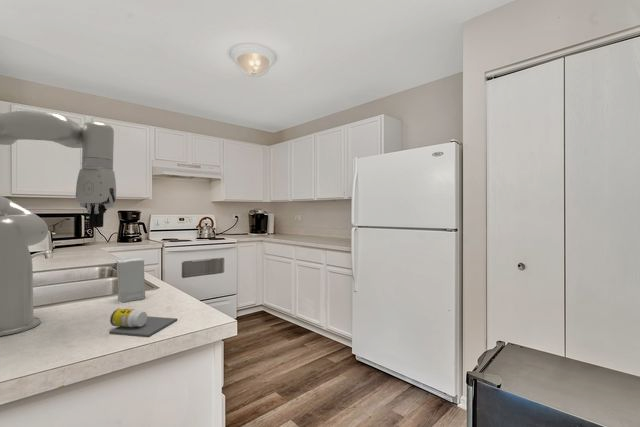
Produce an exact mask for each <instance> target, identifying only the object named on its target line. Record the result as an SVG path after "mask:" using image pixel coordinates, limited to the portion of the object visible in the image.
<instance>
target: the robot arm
mask: <svg viewBox="0 0 640 427" xmlns="http://www.w3.org/2000/svg"><path fill="white" fill-rule="evenodd" d="M114 136H115V130H114V128H113V127H112V126H111V125H109V124H108V123H103V122H98V121H88V122H85V123H83V124H81V123H78V122H76V121H74V120H72V119H70V118H68V117H66V116H64V115H62V114H58V113H53V112H45V111H44V112H43V111H34V110H33V111H32V110H31V111H29V110H15V111H8V112H0V145H1V146H2V145H3V146H11V145H13V144H15V143H16V142H17V141H19V140H23V141H25V140H26V141H27V140H31V141H46V142H53V143H57V144H59V145H61V146H64V147H66V148H70V149H71V148H72V149H81V153H82V154H81V163H80V164H81V168H80V169H79V172H78V174H77V179H76V186H75V201H76V202H77V203H79V204H80V207H82V208H85V209H86V211H87V214H89V216H88V217H89V220H88V223H89V224H88V226H89V228H103V227H104V215H105V214H106V212H107V211H108V209H112V208H114V206H115V205H114V203H115V202H116V201H117V183H116V176H115V175H116V174H115V171H114V149H115V148H114V146H115V145H114V140H115V137H114ZM48 233H49V227H48V224H47V223H46V221H45V220H44V219H43V218H42V217H40V216H39V215H37V214H36V213H34V212H32V211H31V210H28V209H27V208H24V207H23V206H21V205H20V204H18V203H16V202H15V201H13V200H11V199H9V198H7V197H6V196H2V195H0V337H2V336H8V335H9V336H10V335H14V334H17V333H21V332H26V331H27V330H28V331H29V330H30V329H33V328H35V327H37V326H39V325H40V324H41V321H42V320H41V317H39V316H35V315H34V278H33V277H34V273H33V272H34V271H33V259H32V255H31V251H30V248H29V247H30V246H34V245H36V244H37V245H38V244H40V243H41V242H43V241H44V240H45V239H46V238H47V236H48Z"/></svg>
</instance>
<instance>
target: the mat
mask: <svg viewBox="0 0 640 427" xmlns="http://www.w3.org/2000/svg"><path fill="white" fill-rule="evenodd" d="M177 321H178V318H174V317H161V316H160V317H159V316H148V315H147V320H146V322H145V324H144V325H143V326H141V327H138V326H135V327H121V326H117V327H115V328H114V329H110V331H109V332H108V333H109V335H110V334H111V335H122V336H132V337H133V336H134V337H144V338H150V337H151V336H153V335H155V334H156V333H158V332H160V331H162V330H164V329H165V328H168V327H169V326H171V325H173V324H174V323H176V322H177Z"/></svg>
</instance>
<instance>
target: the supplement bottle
mask: <svg viewBox="0 0 640 427" xmlns="http://www.w3.org/2000/svg"><path fill="white" fill-rule="evenodd" d="M147 316H148V314H147V312H145V311H142V310H138V309H134V308H132V309H130V308H116V309H114V310H113V311H112V312H111V314H110V316H109V324H110V325H111V326H113V327H120V326H121V327H135V326H138V327H141V326H143V325H144V324H145V322H146V320H147Z"/></svg>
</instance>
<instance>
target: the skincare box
mask: <svg viewBox="0 0 640 427" xmlns="http://www.w3.org/2000/svg"><path fill="white" fill-rule="evenodd" d="M116 276H117V278H116V279H117V299H118V301H119V303H120V302H122V303H127V302H132V301H137V300H144V299H146V283H145V282H146V280H145V259H143V258H142V257H134V258H128V259H118V260H116Z"/></svg>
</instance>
